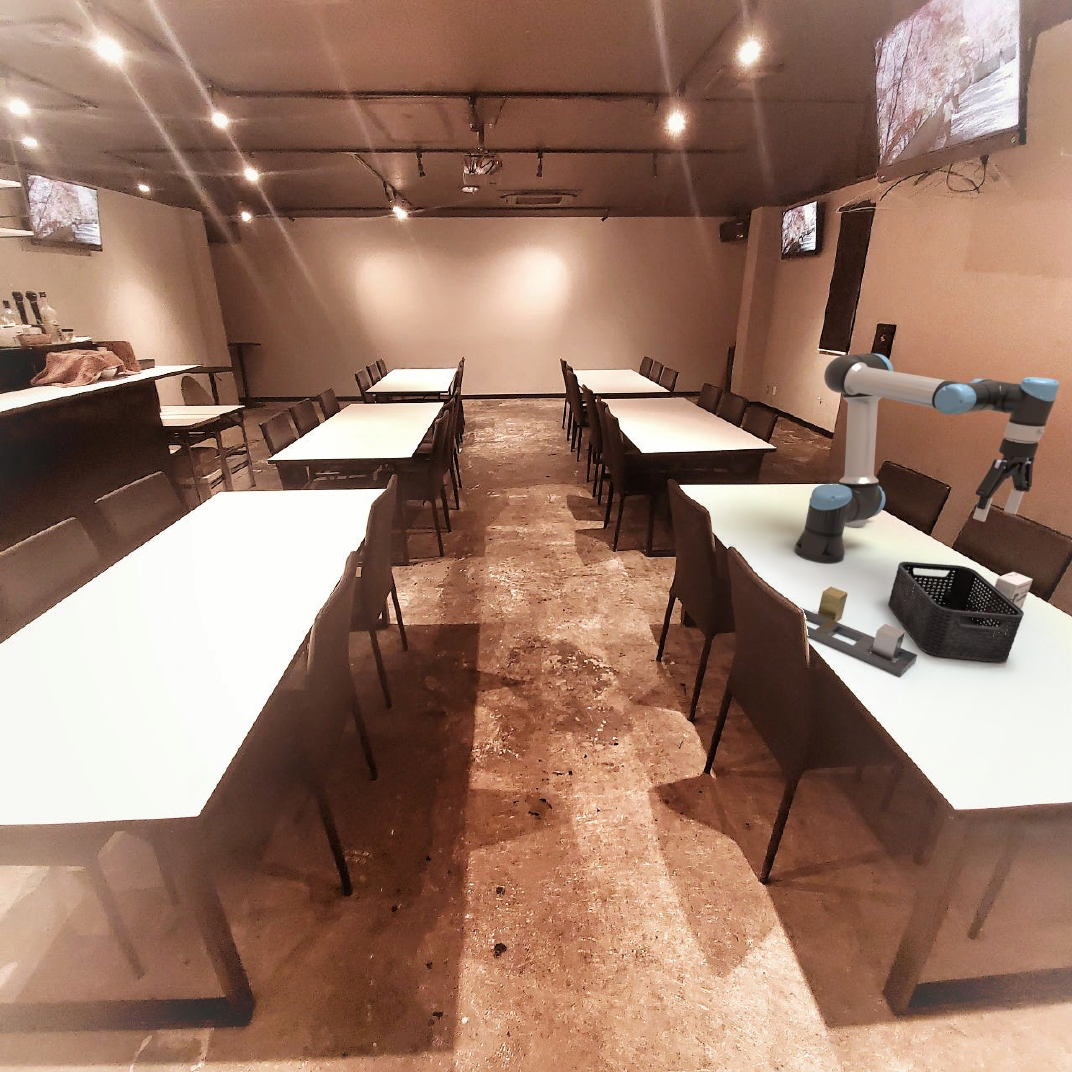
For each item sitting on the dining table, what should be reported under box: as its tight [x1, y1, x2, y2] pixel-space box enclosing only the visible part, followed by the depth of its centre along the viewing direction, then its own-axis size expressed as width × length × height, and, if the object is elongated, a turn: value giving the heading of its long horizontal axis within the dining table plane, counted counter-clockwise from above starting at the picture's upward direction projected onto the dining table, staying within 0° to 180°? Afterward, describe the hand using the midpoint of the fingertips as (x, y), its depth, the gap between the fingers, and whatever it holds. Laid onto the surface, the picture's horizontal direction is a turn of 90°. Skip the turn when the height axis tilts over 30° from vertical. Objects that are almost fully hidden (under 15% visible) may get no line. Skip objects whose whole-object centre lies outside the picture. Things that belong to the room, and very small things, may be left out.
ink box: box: [988, 571, 1034, 620], centre depth 160 cm, size 9×5×12 cm, turn 118°
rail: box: [801, 607, 918, 678], centre depth 149 cm, size 30×9×2 cm, turn 40°
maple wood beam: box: [817, 586, 848, 623], centre depth 159 cm, size 5×5×8 cm
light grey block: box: [870, 623, 906, 663], centre depth 142 cm, size 5×5×8 cm
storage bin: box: [888, 561, 1025, 663], centre depth 153 cm, size 29×19×13 cm
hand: (994, 516), depth 160 cm, fingers open, 13 cm apart
